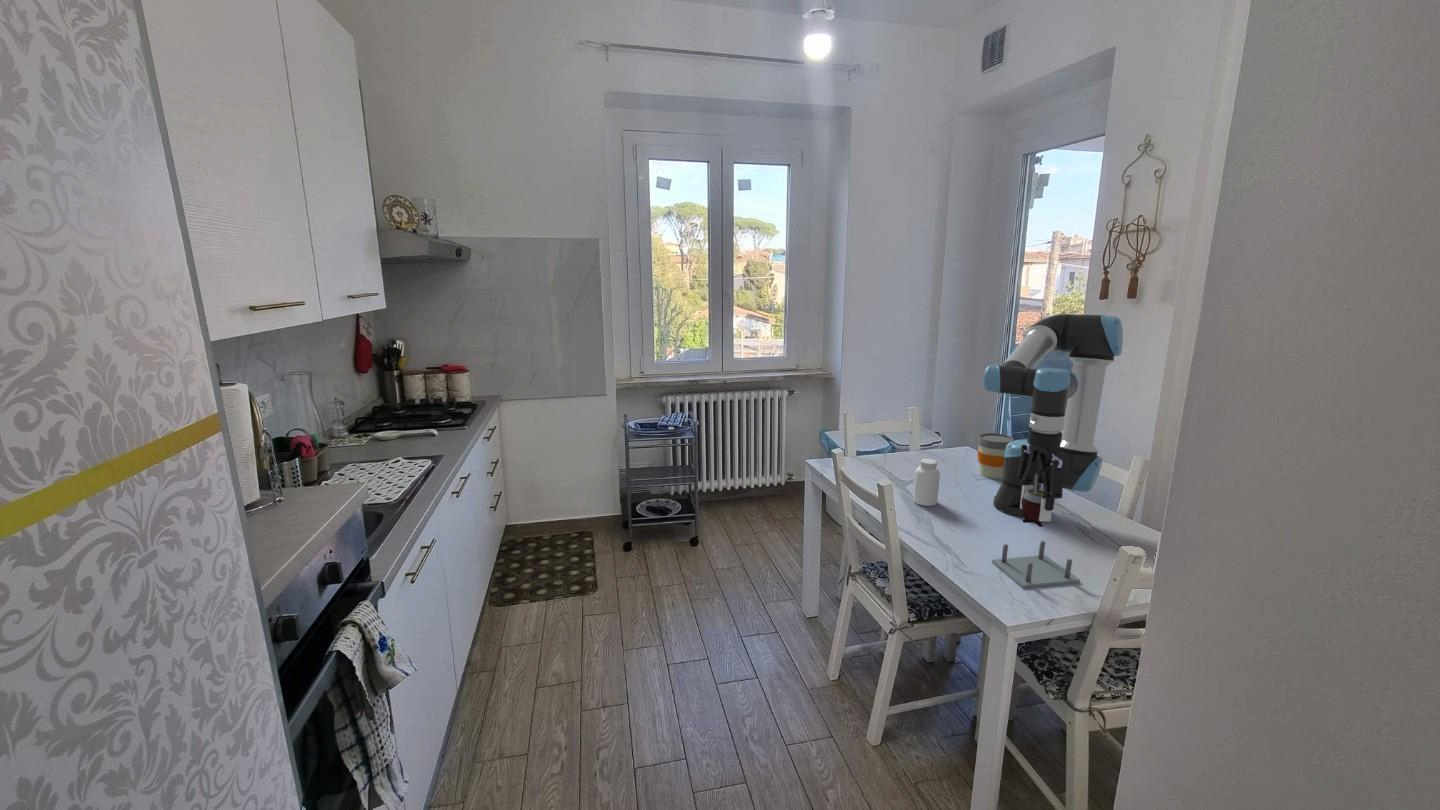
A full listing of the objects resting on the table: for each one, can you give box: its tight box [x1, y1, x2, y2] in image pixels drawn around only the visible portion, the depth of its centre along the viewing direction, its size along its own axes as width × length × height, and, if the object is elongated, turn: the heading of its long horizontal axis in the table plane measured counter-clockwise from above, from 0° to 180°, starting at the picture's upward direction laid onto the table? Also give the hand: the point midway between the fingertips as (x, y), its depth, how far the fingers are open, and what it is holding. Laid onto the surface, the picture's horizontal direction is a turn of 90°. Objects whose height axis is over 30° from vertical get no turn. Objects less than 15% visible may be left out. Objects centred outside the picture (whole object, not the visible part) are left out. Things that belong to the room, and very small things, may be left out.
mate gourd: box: [1021, 474, 1048, 528], centre depth 148 cm, size 8×8×15 cm
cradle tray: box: [991, 540, 1081, 589], centre depth 152 cm, size 16×13×6 cm
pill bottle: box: [912, 458, 941, 507], centre depth 196 cm, size 8×8×15 cm
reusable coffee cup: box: [977, 432, 1015, 480], centre depth 220 cm, size 13×13×15 cm
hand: (1034, 514), depth 150 cm, fingers closed on mate gourd, 7 cm apart
